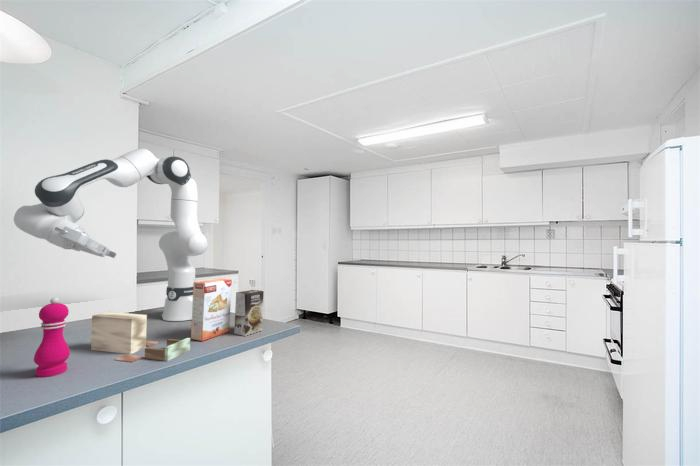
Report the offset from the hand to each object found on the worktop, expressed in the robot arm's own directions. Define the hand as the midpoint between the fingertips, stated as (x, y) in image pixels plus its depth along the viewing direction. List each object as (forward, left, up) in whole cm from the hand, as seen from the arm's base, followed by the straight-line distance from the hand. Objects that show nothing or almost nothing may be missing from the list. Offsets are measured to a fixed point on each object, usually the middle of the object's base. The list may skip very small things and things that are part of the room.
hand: (109, 252), depth 114 cm
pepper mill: (+23, +8, -31) cm, 40 cm away
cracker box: (-18, +28, -31) cm, 45 cm away
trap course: (+3, +20, -31) cm, 37 cm away
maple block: (+3, +8, -31) cm, 32 cm away
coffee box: (-26, +39, -31) cm, 56 cm away
